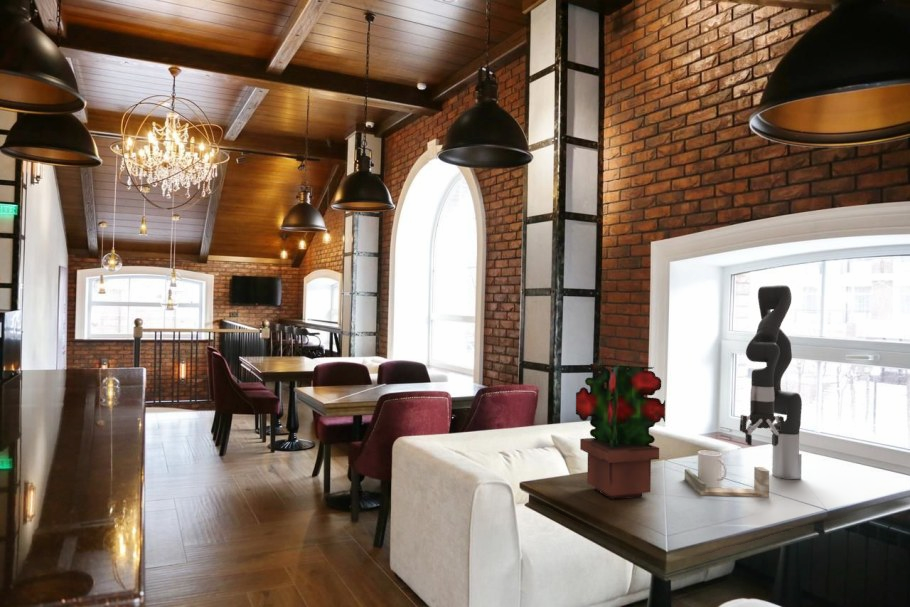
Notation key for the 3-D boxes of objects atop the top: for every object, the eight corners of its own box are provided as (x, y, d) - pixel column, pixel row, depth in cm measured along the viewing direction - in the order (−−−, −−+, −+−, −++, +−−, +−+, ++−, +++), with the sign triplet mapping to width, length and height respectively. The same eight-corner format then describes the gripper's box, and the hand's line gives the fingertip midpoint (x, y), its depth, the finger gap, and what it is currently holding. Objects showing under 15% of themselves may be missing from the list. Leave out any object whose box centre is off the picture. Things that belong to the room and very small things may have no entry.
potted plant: (664, 500, 211) (665, 368, 211) (606, 505, 204) (607, 369, 204) (628, 482, 232) (629, 362, 232) (575, 486, 226) (576, 363, 226)
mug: (733, 490, 223) (734, 456, 223) (714, 492, 220) (714, 458, 220) (710, 481, 234) (710, 449, 234) (692, 483, 231) (692, 450, 232)
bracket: (746, 481, 233) (746, 457, 233) (769, 496, 214) (769, 470, 214) (684, 479, 235) (684, 455, 235) (701, 494, 216) (701, 469, 216)
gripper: (778, 398, 220) (777, 443, 220) (737, 396, 221) (736, 442, 221) (788, 401, 213) (787, 448, 213) (745, 400, 214) (745, 447, 214)
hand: (761, 445), depth 217 cm, fingers open, 8 cm apart
